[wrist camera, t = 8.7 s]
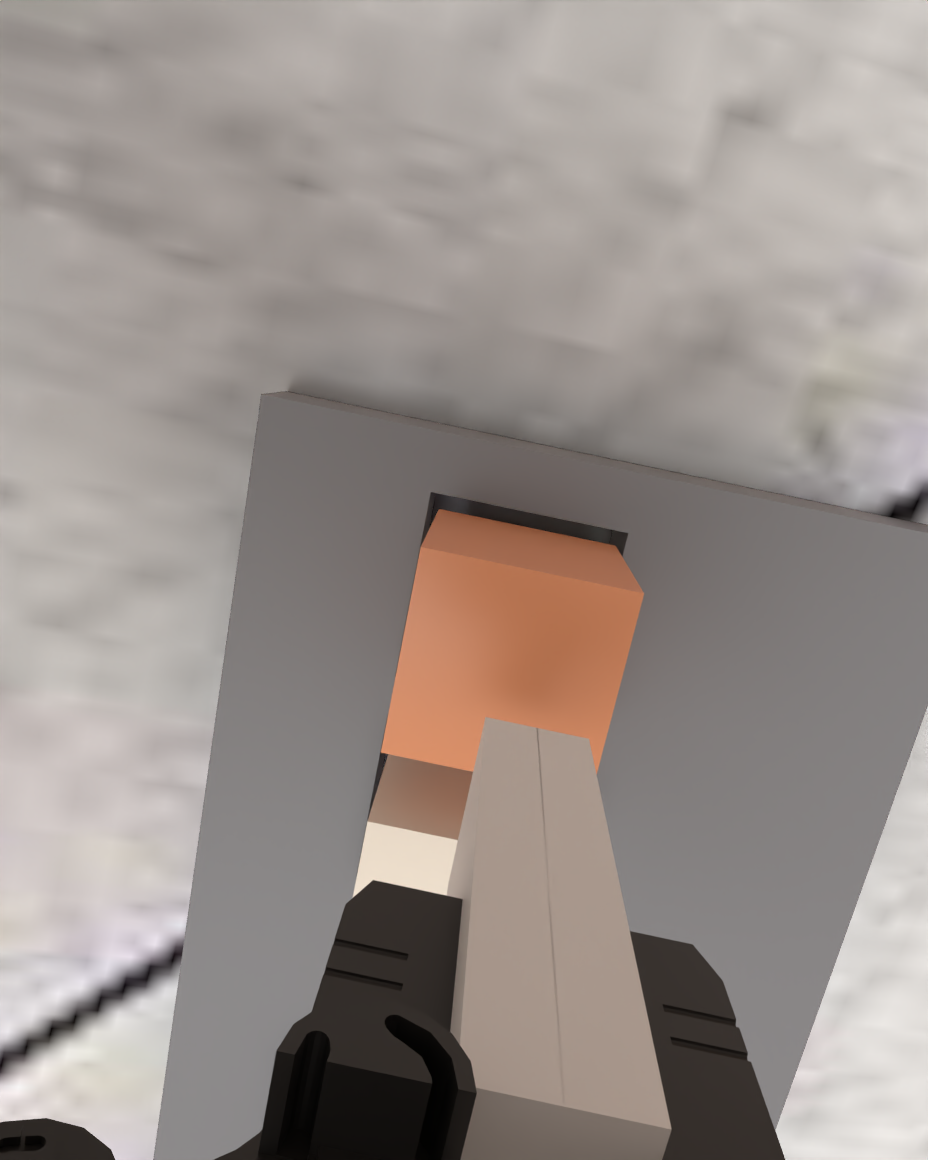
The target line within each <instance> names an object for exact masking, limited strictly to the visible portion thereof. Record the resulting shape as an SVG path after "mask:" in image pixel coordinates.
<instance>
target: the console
mask: <svg viewBox="0 0 928 1160" xmlns="http://www.w3.org/2000/svg"><path fill="white" fill-rule="evenodd" d="M436 493H438V494H443V495H448V496H452V497H457V498H462V499H467V500H472V501H476V502H481V503H486V504H491V505H495V506H500V507H505V508H510V509H515V510H519V511H524V512H529V513H534V514H539V515H543V516H548V517H553V518H558V519H563V520H567V521H572V522H577V523H582V524H587V525H591V526H596V527H601V528H606V529H611V530H613V531H612V535H611V539H610V543H609V544H610V545H615V546H616V547H617V549H618V550H619V552H620V554H621V555H622V557H623V559H624V560H625V562H626V564H627V565H628V567H629V569H630V571H631V572H632V574H633V576H634V577H635V579H636V581H637V582H638V584H639V586H640V587H641V589H642V591H643V592H644V596H643V600H642V604H641V608H640V611H639V615H638V619H637V623H636V627H635V631H634V634H633V638H632V642H631V646H630V650H629V653H628V657H627V661H626V665H625V669H624V672H623V676H622V680H621V684H620V688H619V691H618V695H617V699H616V703H615V707H614V710H613V714H612V718H611V722H610V726H609V729H608V733H607V737H606V741H605V745H604V748H603V752H602V756H601V760H600V764H599V767H598V771H597V779H598V784H599V789H600V793H601V798H602V803H603V808H604V812H605V817H606V822H607V826H608V831H609V836H610V841H611V845H612V850H613V855H614V860H615V864H616V869H617V874H618V878H619V883H620V888H621V893H622V897H623V902H624V907H625V912H626V916H627V921H628V926H629V930H630V931H632V932H637V933H642V934H646V935H651V936H656V937H660V938H665V939H670V940H675V941H679V942H684V943H689V944H693V945H694V946H695V948H696V949H697V950H698V951H699V953H700V954H701V955H702V956H703V957H704V959H705V960H706V961H707V962H708V963H709V965H710V966H711V967H712V968H713V969H714V971H715V972H716V973H717V974H718V976H719V977H720V978H721V979H722V980H723V983H724V985H725V988H726V991H727V994H728V997H729V1000H730V1003H731V1006H732V1008H733V1011H734V1014H735V1017H736V1027H739V1029H740V1031H741V1034H742V1037H743V1040H744V1043H745V1046H746V1049H747V1051H748V1056H747V1060H748V1061H750V1062H751V1063H752V1066H753V1069H754V1072H755V1074H756V1077H757V1080H758V1083H759V1086H760V1089H761V1092H762V1095H763V1097H764V1100H765V1103H766V1106H767V1109H768V1112H769V1115H770V1118H771V1120H772V1123H773V1126H774V1129H776V1127H777V1124H778V1121H779V1118H780V1115H781V1113H782V1110H783V1107H784V1104H785V1102H786V1099H787V1096H788V1093H789V1090H790V1088H791V1085H792V1082H793V1079H794V1076H795V1074H796V1071H797V1068H798V1065H799V1063H800V1060H801V1057H802V1054H803V1051H804V1049H805V1046H806V1043H807V1040H808V1037H809V1035H810V1032H811V1029H812V1026H813V1024H814V1021H815V1018H816V1015H817V1012H818V1010H819V1007H820V1004H821V1001H822V998H823V996H824V993H825V990H826V987H827V985H828V982H829V979H830V976H831V973H832V971H833V968H834V965H835V962H836V959H837V957H838V954H839V951H840V948H841V946H842V943H843V940H844V937H845V934H846V932H847V929H848V926H849V923H850V920H851V918H852V915H853V912H854V909H855V907H856V904H857V901H858V898H859V895H860V893H861V890H862V887H863V884H864V881H865V879H866V876H867V873H868V870H869V868H870V865H871V862H872V859H873V856H874V854H875V851H876V848H877V845H878V842H879V840H880V837H881V834H882V831H883V829H884V826H885V823H886V820H887V817H888V815H889V812H890V809H891V806H892V803H893V801H894V798H895V795H896V792H897V790H898V787H899V784H900V781H901V778H902V776H903V773H904V770H905V767H906V764H907V762H908V759H909V756H910V753H911V751H912V748H913V745H914V742H915V739H916V737H917V734H918V731H919V728H920V725H921V723H922V720H923V717H924V714H925V712H926V709H927V706H928V525H925V524H920V523H916V522H911V521H906V520H901V519H896V518H892V517H887V516H882V515H877V514H872V513H868V512H863V511H858V510H853V509H848V508H844V507H839V506H834V505H829V504H824V503H820V502H815V501H810V500H805V499H801V498H796V497H791V496H786V495H781V494H777V493H772V492H767V491H762V490H757V489H753V488H748V487H743V486H738V485H733V484H729V483H724V482H719V481H714V480H709V479H705V478H700V477H695V476H690V475H686V474H681V473H676V472H671V471H666V470H662V469H657V468H652V467H647V466H642V465H638V464H633V463H628V462H623V461H618V460H614V459H609V458H604V457H599V456H594V455H590V454H585V453H580V452H575V451H570V450H566V449H561V448H556V447H551V446H547V445H542V444H537V443H532V442H527V441H523V440H518V439H513V438H508V437H503V436H499V435H494V434H489V433H484V432H479V431H475V430H470V429H465V428H460V427H455V426H451V425H446V424H441V423H436V422H432V421H427V420H422V419H417V418H412V417H408V416H403V415H398V414H393V413H388V412H384V411H379V410H374V409H369V408H364V407H360V406H355V405H350V404H345V403H340V402H336V401H331V400H326V399H321V398H316V397H312V396H307V395H302V394H297V393H293V392H288V391H285V392H276V393H268V394H261V401H260V408H259V415H258V422H257V429H256V436H255V443H254V450H253V457H252V464H251V471H250V479H249V486H248V493H247V500H246V507H245V514H244V521H243V528H242V535H241V542H240V549H239V556H238V564H237V571H236V578H235V585H234V592H233V599H232V606H231V613H230V620H229V627H228V634H227V641H226V649H225V656H224V663H223V670H222V677H221V684H220V691H219V698H218V705H217V712H216V719H215V727H214V734H213V741H212V748H211V755H210V762H209V769H208V776H207V783H206V790H205V797H204V804H203V812H202V819H201V826H200V833H199V840H198V847H197V854H196V861H195V868H194V875H193V882H192V890H191V897H190V904H189V911H188V918H187V925H186V932H185V939H184V946H183V953H182V960H181V967H180V975H179V982H178V989H177V996H176V1003H175V1010H174V1017H173V1024H172V1031H171V1038H170V1045H169V1052H168V1060H167V1067H166V1074H165V1081H164V1088H163V1095H162V1102H161V1109H160V1116H159V1123H158V1130H157V1138H156V1145H155V1152H154V1159H153V1160H214V1159H216V1158H218V1157H220V1156H223V1155H225V1154H227V1153H230V1152H232V1151H234V1150H236V1149H238V1148H239V1147H240V1146H242V1145H243V1144H245V1143H246V1142H247V1141H249V1140H250V1139H252V1138H253V1137H254V1136H256V1135H257V1134H258V1133H260V1131H261V1130H262V1128H263V1122H264V1117H265V1111H266V1106H267V1100H268V1095H269V1089H270V1083H271V1078H272V1072H273V1067H274V1061H275V1056H276V1051H277V1049H278V1047H279V1046H280V1044H281V1043H282V1041H283V1040H284V1038H285V1036H286V1035H287V1033H288V1032H289V1030H290V1029H291V1027H292V1025H293V1024H294V1023H296V1022H297V1021H299V1020H300V1019H302V1018H303V1017H305V1016H306V1015H308V1014H309V1013H311V1012H312V1009H313V1006H314V1002H315V999H316V996H317V993H318V990H319V987H320V983H321V980H322V977H323V975H324V972H325V968H326V964H327V961H328V958H329V955H330V952H331V948H332V945H333V944H334V939H335V936H336V933H337V929H338V926H339V923H340V920H341V917H342V914H343V910H344V907H345V904H346V903H347V902H349V901H350V900H351V899H352V898H353V893H354V888H355V883H356V878H357V873H358V867H359V862H360V857H361V852H362V847H363V842H364V837H365V831H366V826H367V821H368V818H369V815H370V811H371V808H372V805H373V802H374V799H375V795H376V792H377V789H378V786H379V782H380V777H381V772H382V766H383V761H384V756H385V753H381V749H382V744H383V739H384V733H385V728H386V723H387V718H388V713H389V708H390V703H391V697H392V692H393V687H394V682H395V677H396V672H397V666H398V661H399V656H400V651H401V646H402V641H403V636H404V630H405V625H406V620H407V615H408V610H409V605H410V599H411V594H412V589H413V584H414V579H415V574H416V569H417V563H418V558H419V553H420V548H421V545H422V543H423V541H424V539H425V537H426V535H427V533H428V531H429V526H430V521H431V516H432V510H433V505H434V500H435V495H436Z"/></svg>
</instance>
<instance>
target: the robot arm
mask: <svg viewBox="0 0 928 1160" xmlns="http://www.w3.org/2000/svg"><path fill="white" fill-rule="evenodd" d="M747 1056H748V1051H747V1049H746V1046H745V1043H744V1040H743V1037H742V1034H741V1031H740V1029H739V1027H736V1017H735V1014H734V1011H733V1008H732V1006H731V1003H730V1000H729V997H728V994H727V991H726V988H725V985H724V983H723V980H722V979H721V978H720V977H719V976H718V974H717V973H716V972H715V971H714V969H713V968H712V967H711V966H710V965H709V963H708V962H707V961H706V960H705V959H704V957H703V956H702V955H701V954H700V953H699V951H698V950H697V949H696V948H695V946H694V945H693V944H689V943H684V942H679V941H675V940H670V939H665V938H660V937H656V936H651V935H646V934H642V933H637V932H632V931H630V930H629V926H628V921H627V916H626V912H625V907H624V902H623V897H622V893H621V888H620V883H619V878H618V874H617V869H616V864H615V860H614V855H613V850H612V845H611V841H610V836H609V831H608V826H607V822H606V817H605V812H604V808H603V803H602V798H601V793H600V789H599V784H598V779H597V774H596V770H595V765H594V760H593V756H592V751H591V746H590V741H589V739H587V738H583V737H578V736H573V735H568V734H564V733H559V732H554V731H549V730H545V729H540V728H535V727H531V726H526V725H521V724H516V723H512V722H507V721H502V720H497V719H493V718H488V717H485V721H484V726H483V730H482V735H481V739H480V744H479V748H478V753H477V757H476V762H475V766H474V771H473V775H472V780H471V784H470V789H469V793H468V797H467V802H466V806H465V811H464V815H463V820H462V824H461V829H460V833H459V838H458V842H457V847H456V851H455V856H454V860H453V865H452V869H451V874H450V878H449V882H448V889H447V896H446V895H442V894H437V893H432V892H428V891H423V890H418V889H413V888H409V887H404V886H399V885H395V884H390V883H385V882H380V881H376V880H372V881H371V882H370V883H369V884H368V885H367V886H366V887H364V888H363V889H362V890H361V891H360V892H359V893H358V894H357V895H355V896H354V897H353V898H352V899H351V900H350V901H349V902H347V903H346V904H345V907H344V910H343V914H342V917H341V920H340V923H339V926H338V929H337V933H336V936H335V939H334V944H333V945H332V948H331V952H330V955H329V958H328V961H327V964H326V968H325V972H324V975H323V977H322V980H321V983H320V987H319V990H318V993H317V996H316V999H315V1002H314V1006H313V1009H312V1012H311V1013H309V1014H308V1015H306V1016H305V1017H303V1018H302V1019H300V1020H299V1021H297V1022H296V1023H294V1024H293V1025H292V1027H291V1029H290V1030H289V1032H288V1033H287V1035H286V1036H285V1038H284V1040H283V1041H282V1043H281V1044H280V1046H279V1047H278V1049H277V1051H276V1056H275V1061H274V1067H273V1072H272V1078H271V1083H270V1089H269V1095H268V1100H267V1106H266V1111H265V1117H264V1122H263V1128H262V1130H261V1131H260V1133H258V1134H257V1135H256V1136H254V1137H253V1138H252V1139H250V1140H249V1141H247V1142H246V1143H245V1144H243V1145H242V1146H240V1147H239V1148H238V1149H236V1150H234V1151H232V1152H230V1153H227V1154H225V1155H223V1156H220V1157H218V1158H216V1159H214V1160H785V1158H784V1155H783V1152H782V1149H781V1146H780V1143H779V1140H778V1138H777V1135H776V1132H775V1129H774V1126H773V1123H772V1120H771V1118H770V1115H769V1112H768V1109H767V1106H766V1103H765V1100H764V1097H763V1095H762V1092H761V1089H760V1086H759V1083H758V1080H757V1077H756V1074H755V1072H754V1069H753V1066H752V1063H751V1062H750V1061H748V1060H747ZM0 1160H115V1158H114V1156H113V1154H112V1151H111V1149H110V1148H108V1147H107V1146H106V1145H105V1144H103V1143H102V1142H101V1141H100V1140H98V1139H97V1138H96V1137H95V1136H93V1135H92V1134H91V1133H89V1132H88V1131H87V1130H86V1129H84V1128H82V1127H79V1126H75V1125H71V1124H67V1123H63V1122H59V1121H55V1120H51V1119H47V1118H44V1119H31V1120H19V1121H7V1122H1V1123H0Z"/></svg>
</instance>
